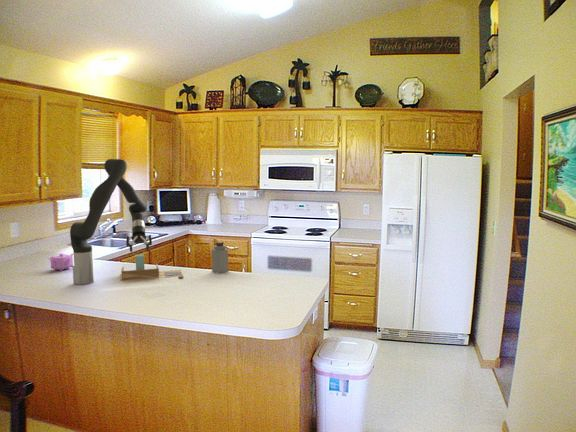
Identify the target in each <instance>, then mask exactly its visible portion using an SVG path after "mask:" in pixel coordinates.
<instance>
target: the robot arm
mask: <svg viewBox="0 0 576 432" xmlns="http://www.w3.org/2000/svg"><path fill="white" fill-rule="evenodd" d="M127 164H128V163H127V162H126V160H124V159H120V158H108V159H106V160H105V162H104V167H103V168H104V170H105V172H106V173H107V175H108V177H107V178H106V179H105V180H104V181H103V182H101V183H100V184H99V185H98V186H97V187H96V188H95V189H94V191H93V192H92V194H91V196H90V198H89V205H88V206H89V210H88V214H87V216H86V218H85V219H84V221H76V222H73V223H72V225H71V226H70V229H69V230H70V231H69V236H70V245H71V249H72V250H73V253H74V254H73V267H72V280H73V281H72V282H73V283H72V284H75V285H78V286H79V285H80V286H81V285H88V284H92V283H94V263H93V260H94V259H93V246H92V245H91V244H89V242H88V241H87V240H90V239H91V238H92V237H93V236H94V235H95V232H96V230H97V228H98V225H99V221H100V219H101V217H102V215H103V213H104V210H105V208H106V207H107V205H108V203H109V201H110V199H111V197H112V195H113V193H114V192H115V189H116V187H118V189H119V190H120V191H121V193H122V195H123V196H124V198H125V200H126V201H127V203H129V206H128V210H129V213H130V216H131V236H129V235H126V241H125V242H126V243H125V245H126V247H129V251H130V252H131V253H133V246H134V245H136V244H144V245H145V248H146V252H149V250H150V246H153V244H152V243H153V241H152V240H153V239H152V235H151V234H149V235H146V224H145V216H144V214H143V213H145V212H147V209H148V207H147V204H146V203H145V201H144V200H143V199H141V198H140V197H139V195H138V194H137V192H136V190H135V188H134V187H133V185H131V183H130V182H128V181H127V180H126V179H125V178H124V177H123V176H124V175H125V174H126V172H127V167H128V165H127ZM146 239H147V240H148V241H147V240H146ZM130 241H131V242H130Z"/></svg>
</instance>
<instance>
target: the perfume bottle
mask: <svg viewBox="0 0 576 432" xmlns="http://www.w3.org/2000/svg"><path fill="white" fill-rule="evenodd" d="M224 243H225V242H224V241H216V242H215V245H213V249H211V270H212V273H217V274H224V273H226V272H229V250H228V248H227V245H224Z"/></svg>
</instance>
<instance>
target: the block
mask: <svg viewBox="0 0 576 432" xmlns="http://www.w3.org/2000/svg"><path fill="white" fill-rule="evenodd" d="M144 269H145V254H144V253H143V254H135V270H144Z"/></svg>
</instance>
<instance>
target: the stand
mask: <svg viewBox="0 0 576 432" xmlns="http://www.w3.org/2000/svg"><path fill="white" fill-rule="evenodd" d="M155 265H156V268H147V269H145V268H144V270H136V269H133V270H131V269H130V270H125V269H124V268H125V267H124V266H123V265H122V266H121V273H120V275H119V282H124V281H125V282H127V281H128V282H129V281H139V280H151V279H165V278H166V279H167V278H176V277H177V278H178V279H184V275H183V272H182V270H181V269H179V270H178V269H177V270H165V271H164V270H162V271H160V268H159V264H158V263H156V264H155Z"/></svg>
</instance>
